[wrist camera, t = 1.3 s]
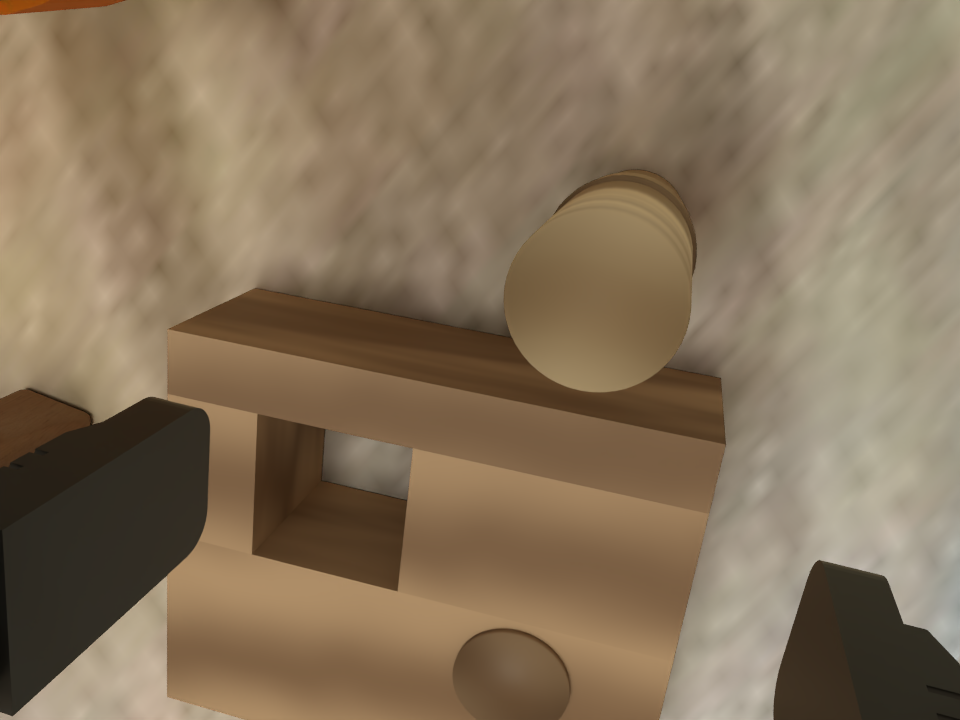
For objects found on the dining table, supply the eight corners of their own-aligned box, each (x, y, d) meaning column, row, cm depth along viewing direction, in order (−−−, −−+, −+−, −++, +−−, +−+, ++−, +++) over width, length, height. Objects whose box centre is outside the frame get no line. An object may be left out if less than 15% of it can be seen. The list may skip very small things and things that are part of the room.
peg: (583, 149, 29) (513, 191, 18) (708, 167, 28) (715, 223, 17) (564, 268, 31) (487, 376, 19) (683, 289, 30) (674, 413, 19)
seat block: (254, 288, 34) (162, 331, 28) (720, 378, 30) (726, 448, 25) (243, 608, 39) (162, 702, 33) (642, 715, 35) (631, 839, 30)
